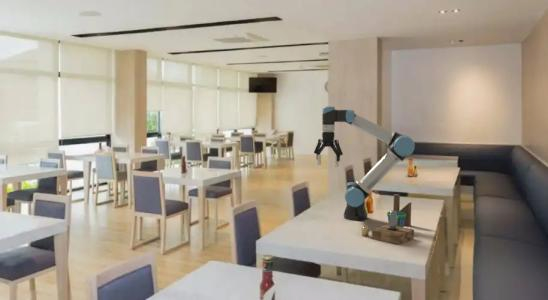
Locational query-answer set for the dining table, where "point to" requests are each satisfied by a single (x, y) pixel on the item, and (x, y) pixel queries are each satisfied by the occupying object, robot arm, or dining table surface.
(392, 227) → the long steel pin
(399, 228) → the hole block
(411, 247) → the dining table surface
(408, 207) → the brown forked bracket
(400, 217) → the snack cup
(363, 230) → the short brass pin
